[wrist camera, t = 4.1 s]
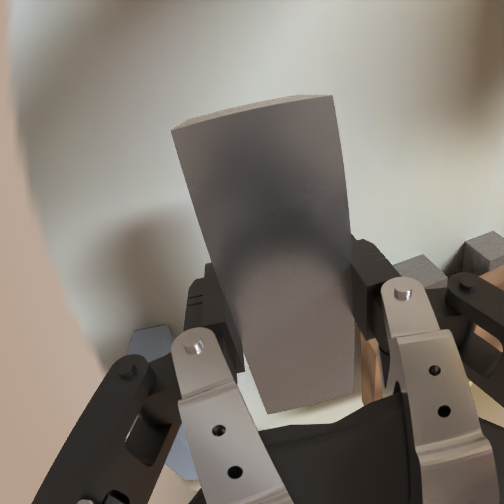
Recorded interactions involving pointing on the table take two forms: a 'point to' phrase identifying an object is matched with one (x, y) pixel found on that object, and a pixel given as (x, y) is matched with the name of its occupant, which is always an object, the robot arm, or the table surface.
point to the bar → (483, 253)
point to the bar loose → (278, 240)
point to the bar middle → (422, 272)
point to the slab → (369, 355)
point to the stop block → (179, 458)
